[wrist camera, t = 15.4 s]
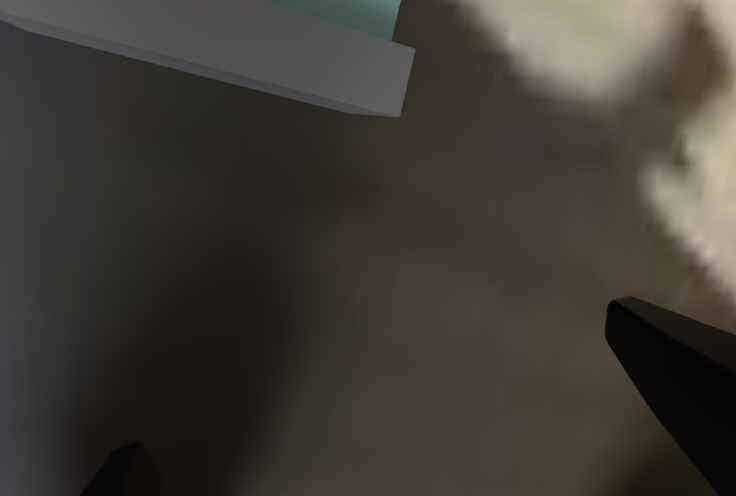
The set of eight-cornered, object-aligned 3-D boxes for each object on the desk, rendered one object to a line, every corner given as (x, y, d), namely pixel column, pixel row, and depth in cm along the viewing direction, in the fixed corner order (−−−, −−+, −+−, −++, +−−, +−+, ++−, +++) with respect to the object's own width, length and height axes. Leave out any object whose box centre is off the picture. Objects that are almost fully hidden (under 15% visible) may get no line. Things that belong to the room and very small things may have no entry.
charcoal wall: (346, 113, 20) (399, 117, 15) (26, 30, 16) (-48, -2, 11) (357, 62, 20) (415, 49, 15) (31, -36, 15) (-43, -101, 10)
